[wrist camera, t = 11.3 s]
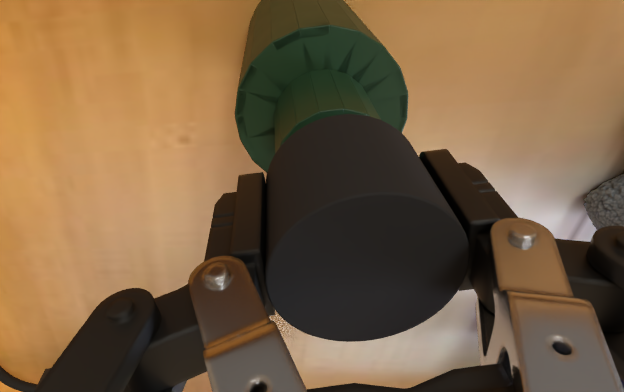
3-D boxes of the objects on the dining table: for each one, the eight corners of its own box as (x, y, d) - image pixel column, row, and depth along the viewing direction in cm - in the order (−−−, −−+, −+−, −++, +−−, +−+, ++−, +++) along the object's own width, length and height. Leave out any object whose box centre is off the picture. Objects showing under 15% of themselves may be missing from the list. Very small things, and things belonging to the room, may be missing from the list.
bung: (277, 213, 16) (280, 353, 11) (255, 96, 13) (246, 210, 8) (398, 197, 16) (458, 329, 11) (401, 77, 13) (484, 178, 8)
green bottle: (259, 96, 30) (249, 257, 16) (239, -13, 25) (202, 73, 12) (356, 84, 30) (433, 232, 16) (352, -27, 26) (451, 41, 12)
